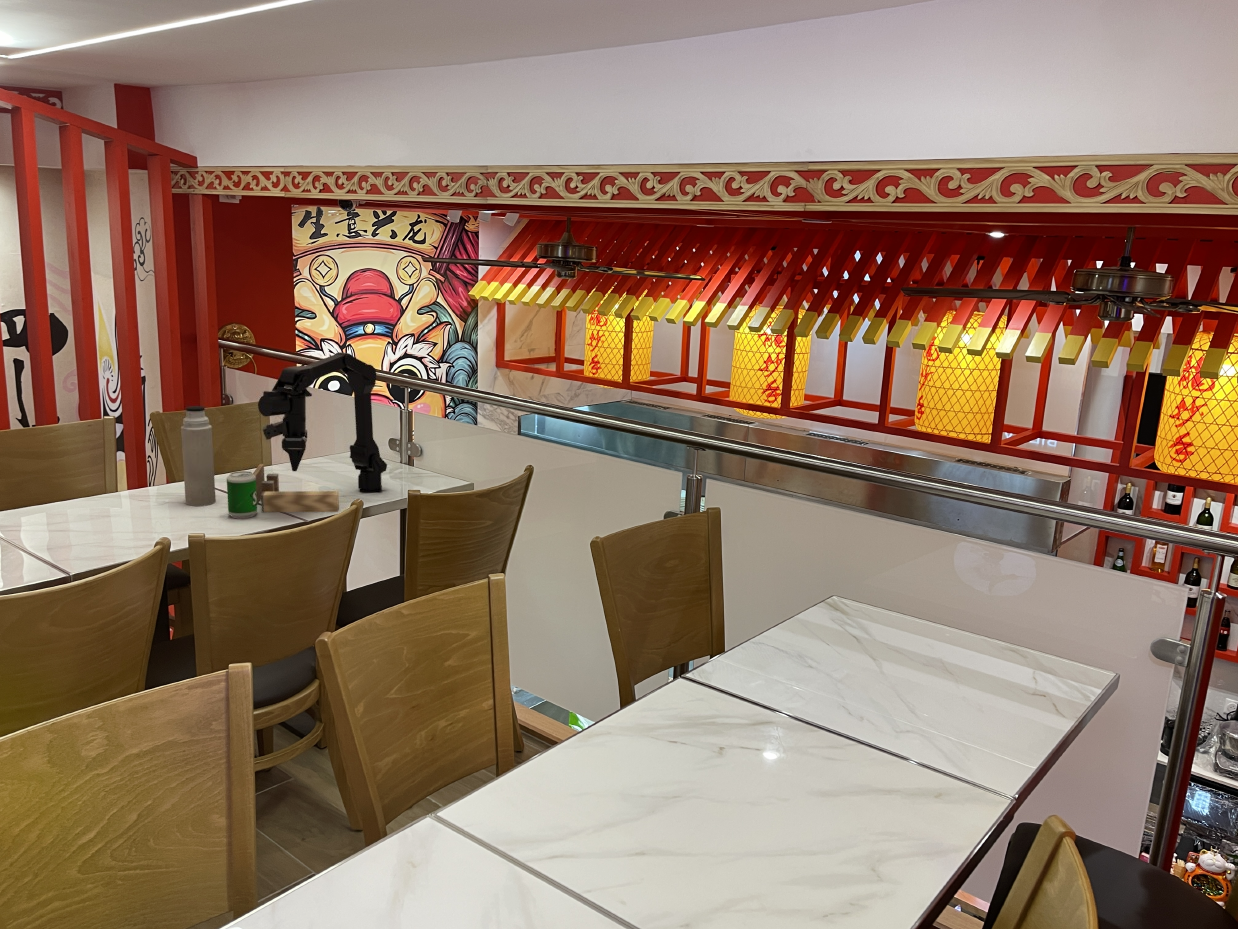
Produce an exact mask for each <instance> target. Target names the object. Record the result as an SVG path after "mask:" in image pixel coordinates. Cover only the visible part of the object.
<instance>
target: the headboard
mask: <svg viewBox="0 0 1238 929" xmlns="http://www.w3.org/2000/svg"><path fill="white" fill-rule="evenodd" d="M252 473H253V474H254V475H255V476H256V491H257V506H258V505H259V503H261V494H262V493H263V492H279V491H280V485H279V484H280V482H279V481H280V480H279V473H267V474H266V476H265V463H260V464H258V466H257V467H256V468H255V470H254V471H253V472H252ZM265 477H266V480H265Z"/></svg>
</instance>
